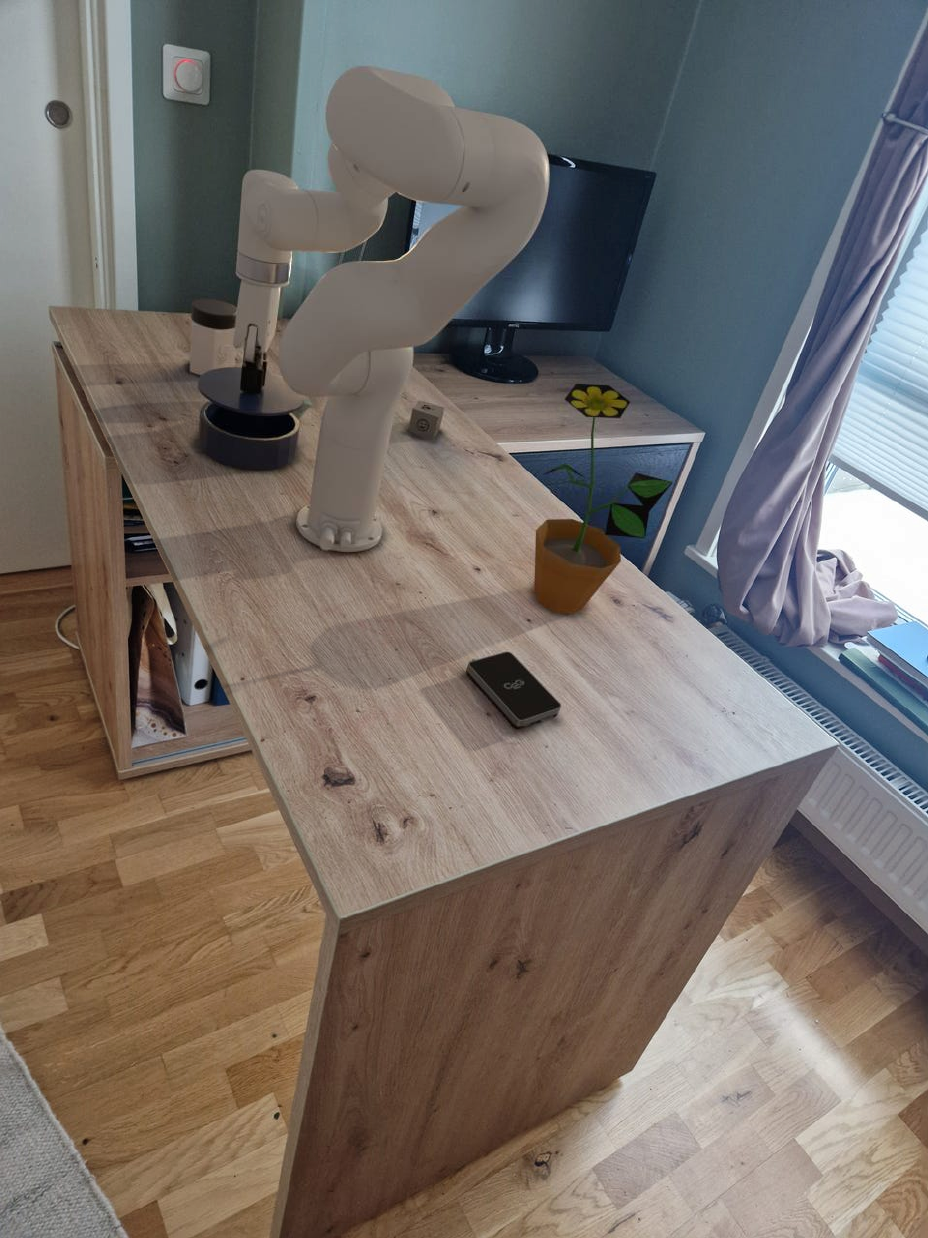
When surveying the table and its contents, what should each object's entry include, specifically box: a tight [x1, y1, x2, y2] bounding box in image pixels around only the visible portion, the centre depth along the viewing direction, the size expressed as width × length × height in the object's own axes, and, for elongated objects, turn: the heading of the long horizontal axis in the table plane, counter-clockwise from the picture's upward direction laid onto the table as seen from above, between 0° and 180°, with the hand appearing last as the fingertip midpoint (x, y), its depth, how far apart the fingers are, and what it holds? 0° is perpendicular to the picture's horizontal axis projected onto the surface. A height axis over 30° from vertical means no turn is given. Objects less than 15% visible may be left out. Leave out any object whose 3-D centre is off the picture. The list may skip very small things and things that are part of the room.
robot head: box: [292, 396, 313, 421], centre depth 145 cm, size 8×4×7 cm, turn 34°
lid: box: [197, 356, 305, 416], centre depth 128 cm, size 16×16×6 cm
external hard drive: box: [465, 651, 562, 731], centre depth 100 cm, size 7×11×2 cm, turn 35°
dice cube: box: [407, 399, 445, 440], centre depth 154 cm, size 5×5×5 cm
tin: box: [198, 400, 301, 472], centre depth 134 cm, size 15×15×5 cm
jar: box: [189, 298, 237, 376], centre depth 152 cm, size 9×8×12 cm
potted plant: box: [533, 383, 674, 616], centre depth 112 cm, size 18×19×30 cm
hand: (252, 386), depth 129 cm, fingers closed on lid, 2 cm apart
